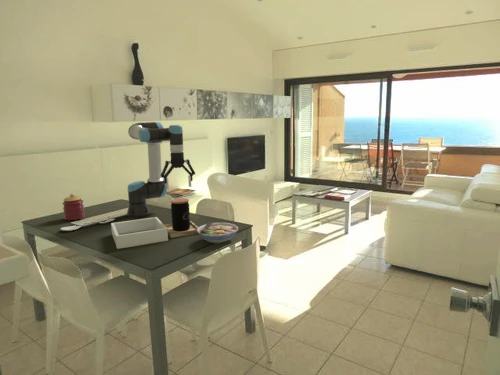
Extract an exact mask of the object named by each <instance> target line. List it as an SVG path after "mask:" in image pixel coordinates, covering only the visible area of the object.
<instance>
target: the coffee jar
mask: <svg viewBox="0 0 500 375" xmlns="http://www.w3.org/2000/svg"><path fill="white" fill-rule="evenodd" d="M189 202H190V199H189V198H187V197H186V198H184V197H179V198H173V199H171V200H170V203H171V204H170V209H171V224H172V228H173V229H174V231H186V230H188V229H189V228H190V221H191V218H190V216H191V214H190V204H189Z"/></svg>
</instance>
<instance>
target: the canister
mask: <svg viewBox="0 0 500 375" xmlns="http://www.w3.org/2000/svg"><path fill="white" fill-rule="evenodd" d="M83 203H84V200H82V197H81V196H79V195H75V194H74V193H70V195H69V196H67V197H65V198H63V202H62V205H63V207H62V208H63V209H62V210H63V217H64V221H66V220H68V221H67V222H71V221H70V220H77V219H81V218H84V217H85V216H86V214H85V208H84V207H85V206H84V204H83ZM85 218H86V217H85ZM85 218H84V219H85ZM81 220H82V219H81ZM77 221H78V220H77Z"/></svg>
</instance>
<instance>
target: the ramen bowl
mask: <svg viewBox="0 0 500 375" xmlns="http://www.w3.org/2000/svg"><path fill="white" fill-rule="evenodd" d="M197 227H198V229H197V232H198V233H199V234H198V235H199V236H200V237H201V238H202V239H203V240H205V241H207V242H209V243H213V244H222V243H225V242H227V241H230V239H232V238H234V237H235V235H236V234H237V232H238V231H239V226H237V225H236V224H234V223H229V222H215V220H213V219H212V220H211V219H210V220H209V221H208V222H207V223H205V224H203V225H200V226H197Z"/></svg>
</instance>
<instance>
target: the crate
mask: <svg viewBox="0 0 500 375" xmlns="http://www.w3.org/2000/svg"><path fill="white" fill-rule="evenodd" d="M110 225H111V226H110V227H111V235H112V238H113V241H114V244H115V246H116V249H117V250H118V249H124V248H130V247H131V248H132V247H138V246H144V245H149V244H155V243H162V242H168V241H169V235H168V233H167V228H166V227H165V226H164V225H165V224H164V223H163V222H162V221H161V220H160V219H159V218H158V217H157V216H154V217H147V218H140V219H133V220H132V219H131V220H126V221H125V220H123V221H118V222H116V221H115V222H111V223H110Z"/></svg>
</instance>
